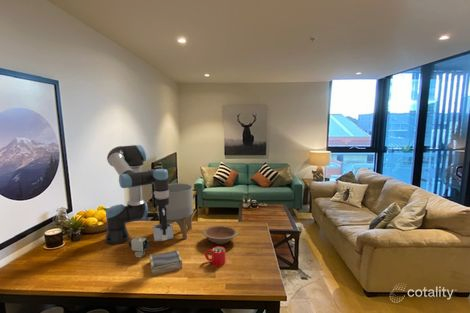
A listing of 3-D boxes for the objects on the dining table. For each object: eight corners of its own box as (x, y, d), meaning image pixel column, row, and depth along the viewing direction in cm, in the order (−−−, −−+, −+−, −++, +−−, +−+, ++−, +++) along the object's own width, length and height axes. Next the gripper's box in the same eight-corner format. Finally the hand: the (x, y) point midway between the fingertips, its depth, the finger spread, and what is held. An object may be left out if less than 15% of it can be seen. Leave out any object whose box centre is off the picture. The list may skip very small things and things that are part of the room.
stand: (149, 262, 152) (149, 254, 151) (177, 256, 158) (177, 248, 157) (152, 275, 139) (151, 266, 138) (182, 268, 145) (182, 260, 145)
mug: (206, 258, 156) (206, 245, 155) (226, 258, 155) (226, 246, 154) (203, 265, 148) (203, 252, 147) (224, 266, 148) (224, 253, 146)
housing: (171, 234, 150) (171, 222, 149) (173, 238, 145) (172, 226, 144) (153, 237, 147) (153, 225, 146) (154, 241, 141) (154, 229, 140)
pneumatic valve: (146, 259, 155) (145, 240, 153) (129, 257, 157) (127, 238, 156) (151, 254, 160) (150, 236, 159) (134, 252, 163) (133, 234, 161)
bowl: (244, 243, 174) (244, 232, 173) (213, 254, 161) (213, 241, 160) (225, 231, 193) (225, 220, 192) (196, 239, 180) (196, 228, 179)
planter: (182, 223, 207) (180, 181, 202) (200, 233, 189) (199, 187, 184) (152, 232, 190) (150, 187, 185) (169, 244, 172) (167, 194, 167)
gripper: (152, 193, 150) (154, 231, 153) (156, 203, 132) (158, 246, 136) (166, 192, 153) (167, 229, 156) (171, 201, 135) (173, 243, 139)
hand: (163, 237), depth 146 cm, fingers closed on housing, 6 cm apart
